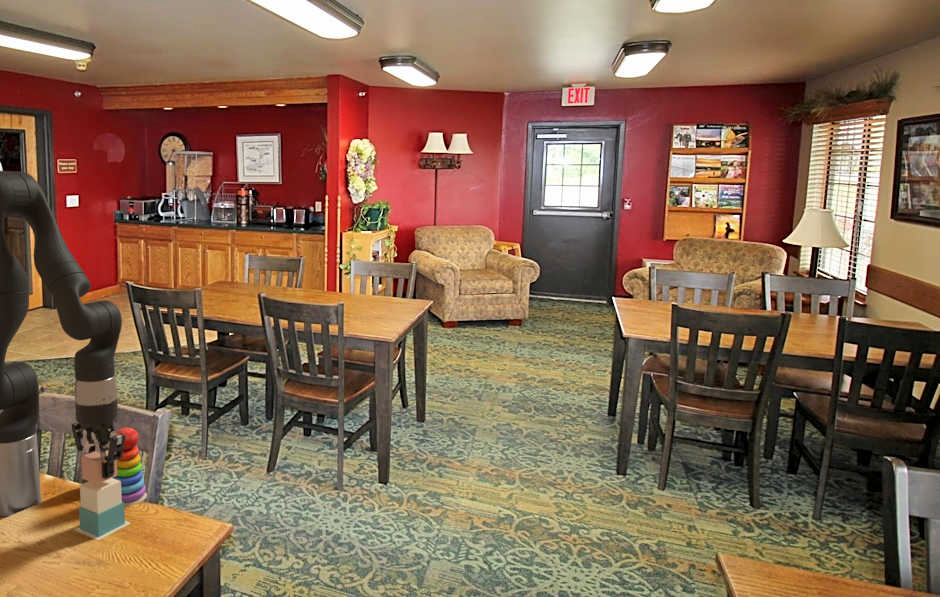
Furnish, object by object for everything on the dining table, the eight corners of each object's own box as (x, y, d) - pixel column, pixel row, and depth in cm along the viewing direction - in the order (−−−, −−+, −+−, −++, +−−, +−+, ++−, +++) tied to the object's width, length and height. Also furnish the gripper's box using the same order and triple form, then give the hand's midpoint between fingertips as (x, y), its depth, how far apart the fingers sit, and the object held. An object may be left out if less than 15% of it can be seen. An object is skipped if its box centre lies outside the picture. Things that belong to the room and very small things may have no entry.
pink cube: (103, 470, 137) (102, 448, 136) (117, 475, 135) (116, 453, 134) (82, 478, 132) (81, 456, 132) (96, 484, 131) (95, 461, 130)
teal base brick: (80, 528, 134) (78, 507, 133) (106, 516, 140) (105, 495, 139) (98, 537, 132) (97, 515, 131) (125, 523, 137) (124, 502, 136)
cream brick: (80, 507, 134) (79, 485, 133) (104, 496, 138) (103, 474, 137) (98, 514, 131) (97, 491, 130) (121, 502, 136) (120, 481, 135)
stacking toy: (100, 507, 145) (96, 431, 141) (127, 492, 153) (124, 419, 149) (128, 514, 143) (125, 437, 139) (154, 498, 151) (152, 424, 147)
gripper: (55, 395, 130) (60, 472, 133) (102, 410, 124) (106, 490, 127) (90, 385, 136) (94, 459, 140) (136, 399, 131) (139, 475, 134)
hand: (100, 473), depth 133 cm, fingers closed on pink cube, 4 cm apart
